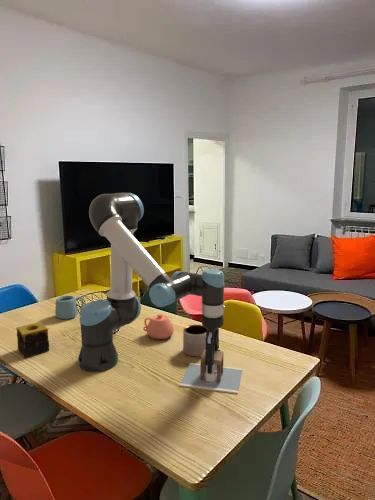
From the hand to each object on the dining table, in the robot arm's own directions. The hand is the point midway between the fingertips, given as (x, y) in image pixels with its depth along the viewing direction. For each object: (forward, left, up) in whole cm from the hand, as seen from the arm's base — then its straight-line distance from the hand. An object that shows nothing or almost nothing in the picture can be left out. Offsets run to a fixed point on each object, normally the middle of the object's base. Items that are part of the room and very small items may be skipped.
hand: (212, 375), depth 135 cm
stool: (0, 0, 0) cm, 0 cm away
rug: (0, 0, -1) cm, 1 cm away
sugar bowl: (-30, +30, -1) cm, 42 cm away
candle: (-76, +4, -1) cm, 76 cm away
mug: (-82, +43, -1) cm, 93 cm away
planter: (-10, +19, -1) cm, 22 cm away
